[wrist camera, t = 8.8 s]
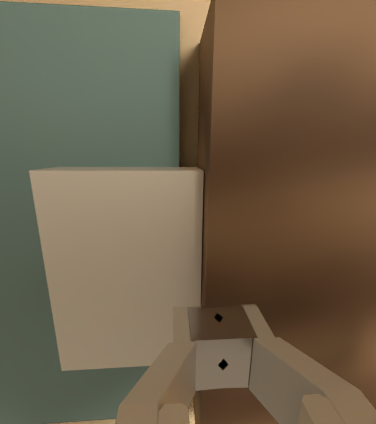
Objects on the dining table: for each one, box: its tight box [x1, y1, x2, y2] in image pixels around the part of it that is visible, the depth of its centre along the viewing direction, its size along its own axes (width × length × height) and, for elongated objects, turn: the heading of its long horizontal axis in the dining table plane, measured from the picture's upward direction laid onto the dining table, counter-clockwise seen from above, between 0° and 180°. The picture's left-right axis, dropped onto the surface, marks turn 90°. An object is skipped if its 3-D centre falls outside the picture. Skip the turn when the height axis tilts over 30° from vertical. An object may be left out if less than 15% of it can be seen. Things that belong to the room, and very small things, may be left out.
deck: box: [193, 0, 376, 424], centre depth 12 cm, size 22×14×4 cm, turn 179°
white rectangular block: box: [29, 167, 204, 371], centre depth 12 cm, size 10×7×2 cm
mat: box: [0, 1, 180, 424], centre depth 13 cm, size 24×12×1 cm, turn 179°
